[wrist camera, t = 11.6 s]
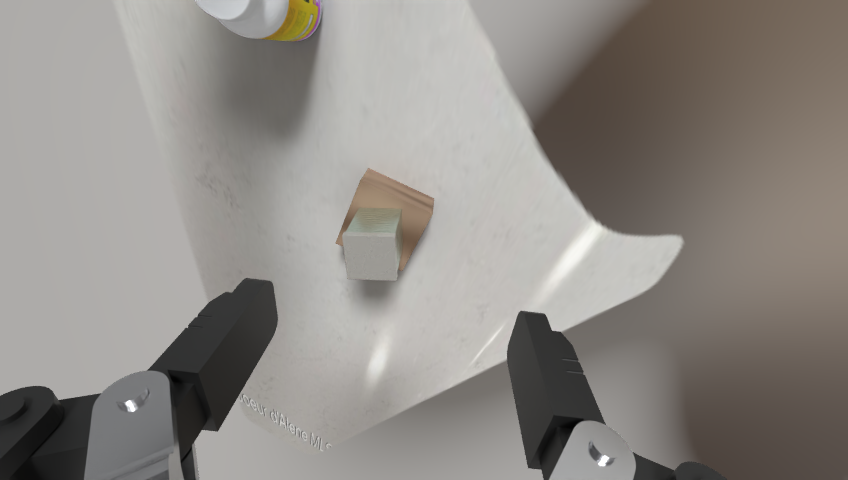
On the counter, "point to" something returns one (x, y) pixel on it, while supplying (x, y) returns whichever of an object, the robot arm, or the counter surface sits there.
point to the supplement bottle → (266, 17)
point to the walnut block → (394, 195)
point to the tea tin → (374, 244)
